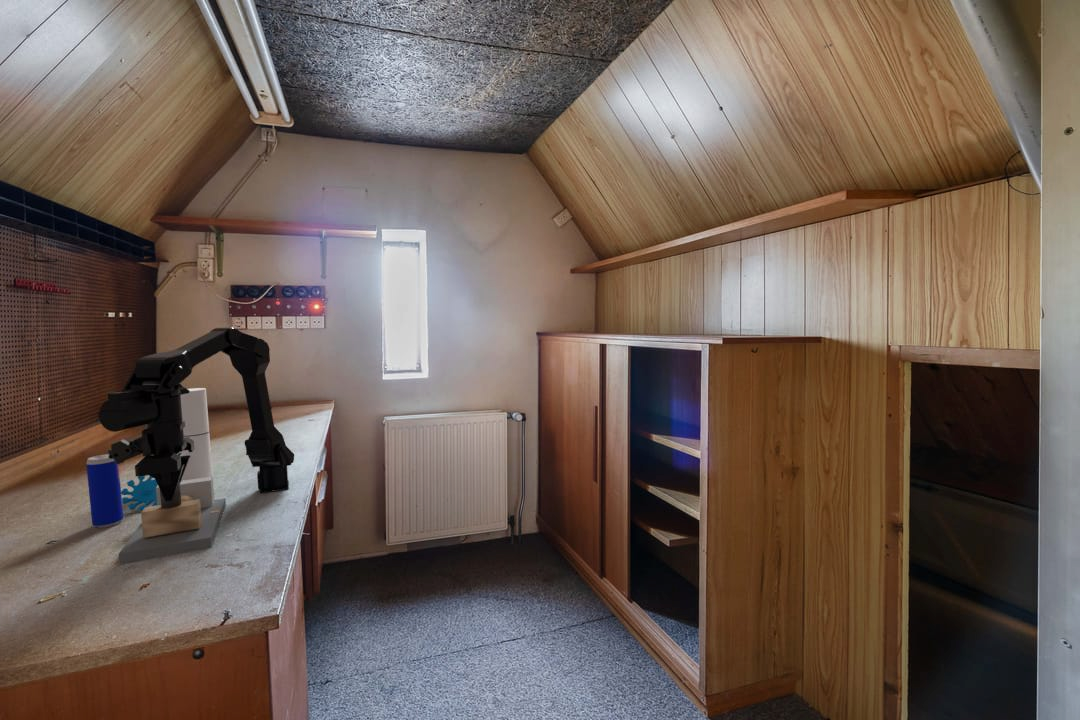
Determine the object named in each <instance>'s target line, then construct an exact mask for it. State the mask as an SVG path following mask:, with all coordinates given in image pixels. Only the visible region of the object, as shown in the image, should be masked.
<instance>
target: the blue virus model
mask: <svg viewBox="0 0 1080 720" xmlns="http://www.w3.org/2000/svg"><path fill="white" fill-rule="evenodd" d="M148 476H149V475H148ZM137 479H138V481H139V482H138V484H136V485H135V480H134V479H131V480H129V481H127V482H126V484H127V486H128V487H130V488H132V489H133V490H131V491H129V489H128V488H126V487H125V488H123V489H121V496H123V497H122V505H126V504H128V505H127V507H128V508H129V511H134V510H135V509H136V508H137V507H138V506H139V505H140V506H139V508H138V511H140V512H142V511H143V509H144V508H145V507H149V505H150V504H151V503H150V502H152V504H151V506H157V496H156V487H157V486H158V484H157V482H156V480H155V478H153V477H151V476H149V477H148V478H147V479H146V476H139V477H138V476H137ZM144 479H146V480H144ZM126 496H132V497H131V498H129V497H126ZM131 502H134V503H131ZM141 504H142V505H141Z"/></svg>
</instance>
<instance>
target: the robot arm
mask: <svg viewBox="0 0 1080 720" xmlns="http://www.w3.org/2000/svg"><path fill="white" fill-rule="evenodd" d="M220 352H221V353H223V354H225V355H226V356H228V357H229V358H230V359H229V360H230V362H231V366H232V367H233V368H234V370H236V371H237V372H238V373H239V374H240V376H241V379H242V383H243V384H242V385H243V389H244V393H245V400H246V405H247V411H248V415H249V416H248V417H249V421H250V427H251V433H250V435H249V437H248V439H245V440H244V446H245V451H246V452H245V455H246V456H248V459H249V461H250V464H251V466H252V468H257V467H259V470H258V471H257V474H256V477H257V478H256V479H257V489H258V490H259V493H260V494H263V493H270V492H275V491H276V492H278V491H282V490H288V489H289V487H290V486H289V485H290V484H289V483H290V481H289V477H288V474H289V473H288V466H292V464H293V463H294V461H295V453H294V452H293V451H292V450H291V449H290V448H289V447H288V446H287V445H286V441H285V438H284V436H283V434H282V433H281V432H280V430H278V429H277V427H276V426H275V424H274V418H273V412H272V406H271V400H270V396H269V395H270V394H269V388H268V383H267V378H266V370H267V368H268V367H269V364H270V363H271V358H270V357H271V355H270V346H269V343H268V342H267V341H265V340H264V339H263V338H258V337H257V336H253V335H252V334H248V333H245V332H242V331H240V330H238V329H237V328H234V327H215V328H213V329H211V330H210V331H209V332H207V333H206V334H203V335H201V336H199V337H198V338H196V339H194V340H192V341H190V342H188V343H186V344H184V345H182V346H179V347H178V348H176V349H172V350H169V351H163V352H158V353H154V354H153V353H152V354H150V355H145V356H142V357H140V358H138V360H136V362H135V367H134V368H133V370H132V372H131V374H130V376H129V377H128V379H127V381H126V383H125V385H124V386H123V388H122V390H121V392H119V391H117V392H108V394H107V400H106V401H104V402H103V403H102V404H101V406H100V408H99V411H97V412H98V413H97V415H98V421H99V423H100V424H101V426H102V427H103V428H104V429H105V430H107V431H109V432H115V433H116V432H120V431H124V430H128V429H129V430H130V429H133V428H137V427H138V428H139V427H142V426H146V427H145V428H143V429H142V430H141V435H137V436H134V437H133V438H130V439H128V440H126V439H123V438H122V439H120V440H119V441H115V442H112V443H111V445H110V448H108V449H107V452H108V454H109V456H108V457H109V458H110V459H113V460H114V461H115V463H116V464H119V465H120V464H122V463H123V464H124V462H125V461H127V460H130V459H131V458H135V457H137V456H140V455H142V457H143V458H142V459H140V461H138V463H136V464H135V465H134V472H135V477H137V478H138V477H139V476H145V477H147V476H151V477H153V478H152V479H155V480H156V482H157V484H158V486H159V488H160V490H161V493H162V495H163V497H164V499H165V501H171V500H172V499H173V496H174V494H175V491H176V488H177V485H178V482H179V480H180V483H181V481H183V480H182V477H183V475H184V472H185V470H186V467H187V464H188V462H189V459H190V457H191V456H190V455H188V456H182V453H180V452H182V451H184V450H188V451H189V452H193V451H194V441H193V440H192V439H190V438H189V437H187V438H184V432H183V428H184V427H185V421H184V422H183V419H182V407H181V395H183V394H188V393H189V392H190V391H189V390H188V389H189V388H186V387H184V386H183V385H182V384H181V383H183V381H185V380H186V379H187V378H188V377H189V376H191V374H192V372H193V369H194V367H196V366H197V365H199V364H201V363H203V362H204V361H205V360H207V359H210V358H212V357H213V356H214V355H217V354H218V353H220Z"/></svg>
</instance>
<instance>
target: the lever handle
mask: <svg viewBox="0 0 1080 720" xmlns="http://www.w3.org/2000/svg"><path fill="white" fill-rule="evenodd" d="M160 498H161V505H158V506H152V505H151V506H147V507H145V508H144V509H143V511H140V517H141V523H142V530H143V538H145V537H151V536H157V535H162V534H168V533H174V532H180V531H186V530H191V529H197V528H200V526H201V523H202V518H201V506H200V499H198V500H191V501H184V502H181V493H180V480H179V482H178V485H177V488H176V491H175V494H174V496H173V499H172V500H171V501H165V499H164V497H163V495H162V493H161V490H160Z"/></svg>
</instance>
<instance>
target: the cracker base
mask: <svg viewBox="0 0 1080 720" xmlns="http://www.w3.org/2000/svg"><path fill="white" fill-rule="evenodd" d="M180 493H181V502H184V501H191V500H198V499H200V506H201V518H202V523H201V526H200V528H197V529H191V530H186V531H180V532H174V533H168V534H162V535H157V536H151V537H145V538H143V530H142V522H141V523H140V524H139V526H138V527H137V528H136V529H135V531H134V533H133V534H132V536H131V537H130V538H129V539H128V541H126V543H125V544H124V546H123V547H122V549H121V550H120V551H119V553H118V555H117V556H118V565H125V564H129V563H135V562H140V561H145V560H151V559H157V558H162V557H167V556H172V555H177V554H183V553H189V552H193V551H200V550H204V549H209V548H212V547H213V545H214V544H213V543H214V542H215V538H216V536H217V532H218V530H219V528H220V525H219V524H221V522H220V521H222V519H221V518H223V516H224V513H225V511H224V510H226V508H227V503H226V498H224V497H223V498H217V499H215V491H214V478H213V476H211V477H206V478H199V479H191V480H184V481H183V480H181V483H180ZM156 496H157V506H158V505H161V498H160V488H159V486H157V487H156ZM225 507H226V508H225ZM223 512H224V513H223ZM222 515H223V516H222ZM215 535H216V536H215Z"/></svg>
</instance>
